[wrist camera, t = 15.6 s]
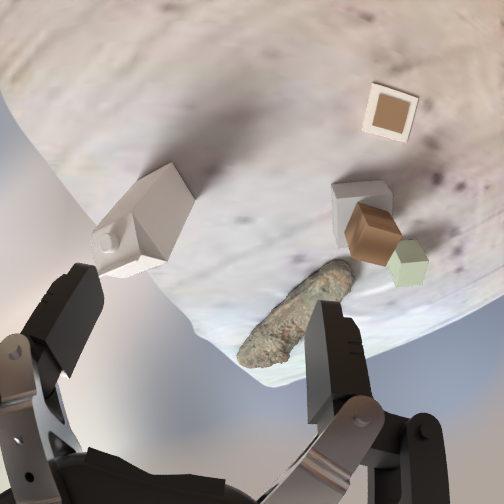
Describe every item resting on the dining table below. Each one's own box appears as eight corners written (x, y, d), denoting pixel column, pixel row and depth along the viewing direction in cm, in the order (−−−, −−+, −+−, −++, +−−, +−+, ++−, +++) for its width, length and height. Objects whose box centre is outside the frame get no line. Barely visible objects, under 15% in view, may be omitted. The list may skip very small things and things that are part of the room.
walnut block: (357, 201, 38) (368, 225, 34) (388, 211, 39) (402, 235, 34) (343, 232, 41) (352, 258, 37) (374, 240, 42) (385, 266, 37)
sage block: (390, 241, 47) (401, 263, 42) (416, 239, 47) (429, 260, 42) (386, 264, 50) (396, 287, 45) (411, 262, 50) (422, 284, 45)
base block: (330, 183, 42) (336, 198, 38) (382, 179, 41) (393, 193, 37) (332, 229, 47) (338, 248, 43) (380, 224, 46) (389, 242, 42)
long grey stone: (365, 268, 53) (323, 242, 51) (371, 286, 49) (327, 259, 46) (263, 366, 70) (227, 351, 68) (262, 384, 66) (224, 369, 64)
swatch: (371, 82, 33) (373, 83, 32) (417, 97, 33) (419, 98, 32) (361, 130, 37) (362, 131, 36) (405, 142, 37) (407, 144, 37)
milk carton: (196, 200, 45) (157, 286, 30) (159, 217, 47) (112, 301, 32) (172, 161, 42) (115, 232, 26) (136, 181, 44) (73, 255, 29)
